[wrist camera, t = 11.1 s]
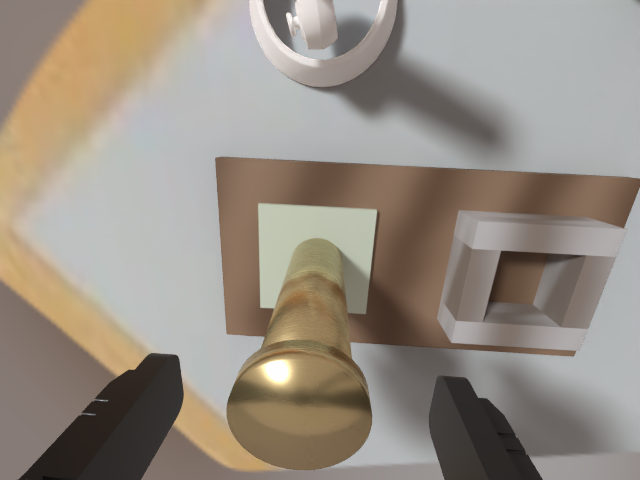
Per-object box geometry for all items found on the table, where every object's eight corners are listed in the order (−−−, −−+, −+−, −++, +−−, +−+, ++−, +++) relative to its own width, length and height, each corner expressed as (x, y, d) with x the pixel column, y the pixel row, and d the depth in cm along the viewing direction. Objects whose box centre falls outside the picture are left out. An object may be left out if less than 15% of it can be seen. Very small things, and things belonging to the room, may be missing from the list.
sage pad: (376, 209, 18) (377, 210, 17) (365, 311, 20) (365, 314, 20) (259, 202, 18) (258, 204, 18) (261, 305, 20) (260, 307, 20)
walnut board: (626, 177, 17) (694, 185, 14) (563, 346, 21) (605, 384, 18) (221, 156, 18) (196, 160, 15) (231, 325, 22) (213, 359, 19)
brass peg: (351, 233, 18) (379, 364, 7) (346, 292, 19) (364, 474, 9) (285, 230, 18) (222, 354, 8) (284, 289, 19) (230, 465, 9)
